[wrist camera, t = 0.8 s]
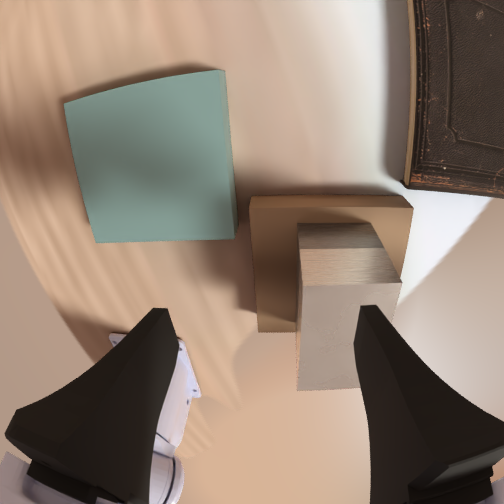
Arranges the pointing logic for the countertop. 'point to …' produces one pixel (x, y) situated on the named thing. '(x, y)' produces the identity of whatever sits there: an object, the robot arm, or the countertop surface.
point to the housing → (337, 298)
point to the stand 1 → (156, 160)
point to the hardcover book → (456, 97)
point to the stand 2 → (285, 242)
